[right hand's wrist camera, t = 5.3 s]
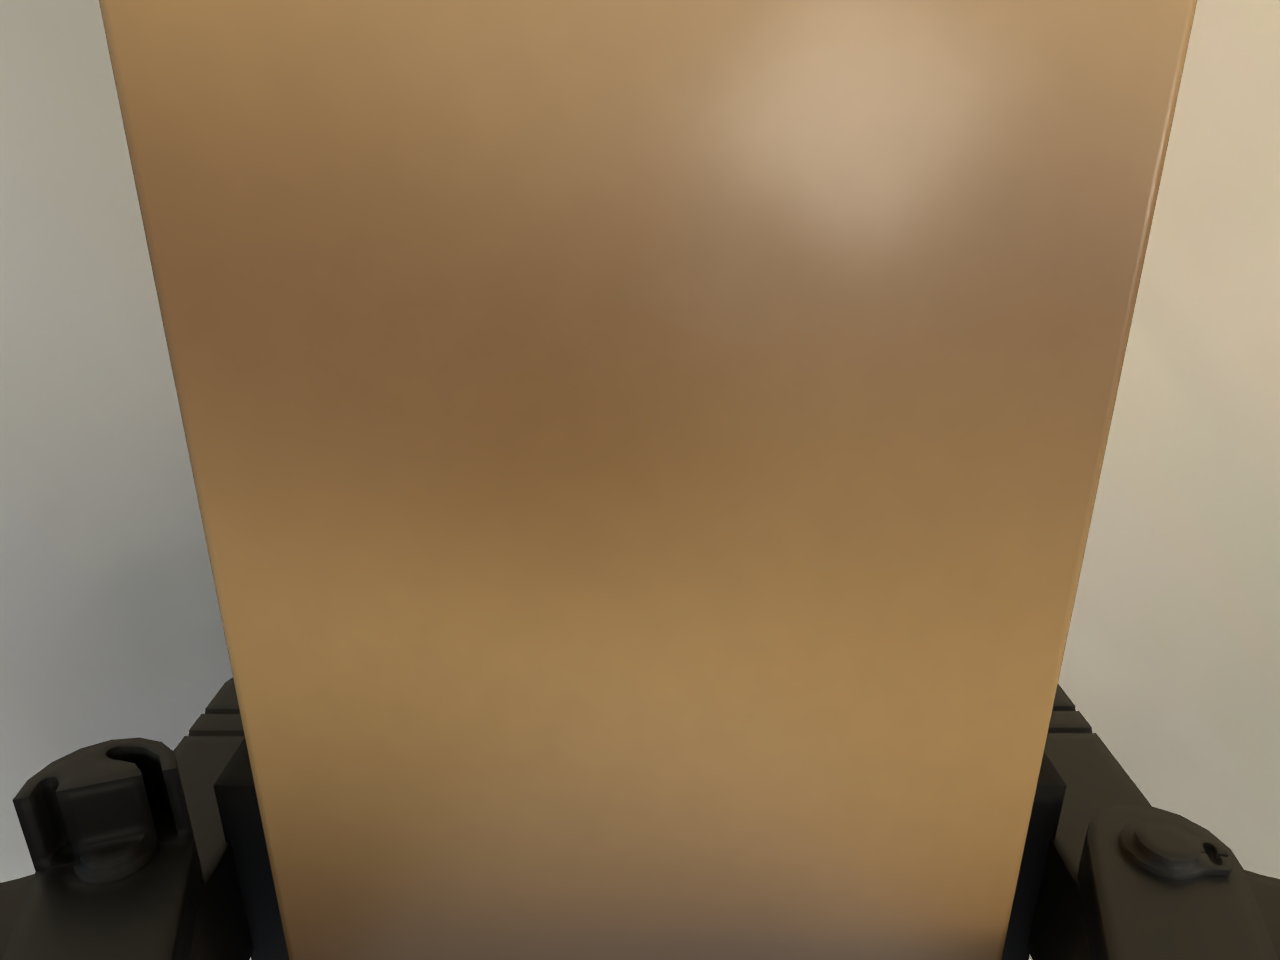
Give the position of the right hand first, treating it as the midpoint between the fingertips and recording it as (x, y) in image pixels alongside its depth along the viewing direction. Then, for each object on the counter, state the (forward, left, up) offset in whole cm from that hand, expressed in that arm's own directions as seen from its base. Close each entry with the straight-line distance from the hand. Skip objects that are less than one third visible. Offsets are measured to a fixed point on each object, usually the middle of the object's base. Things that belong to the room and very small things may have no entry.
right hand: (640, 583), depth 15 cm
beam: (+3, -28, -1) cm, 28 cm away
